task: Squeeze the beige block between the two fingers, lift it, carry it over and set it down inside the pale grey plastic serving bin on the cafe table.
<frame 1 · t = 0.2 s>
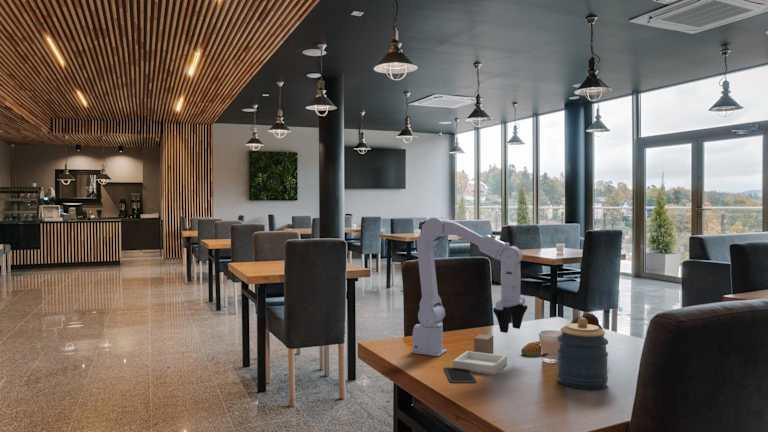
hand: (510, 330, 169), 10 cm above the table, fingers open, 7 cm apart
beige block: (483, 355, 177), on the table
serving bin: (480, 366, 164), on the table
pastry: (534, 354, 179), on the table
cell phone: (459, 377, 155), on the table
ice cream bowl: (585, 361, 170), on the table
canister: (582, 383, 149), on the table
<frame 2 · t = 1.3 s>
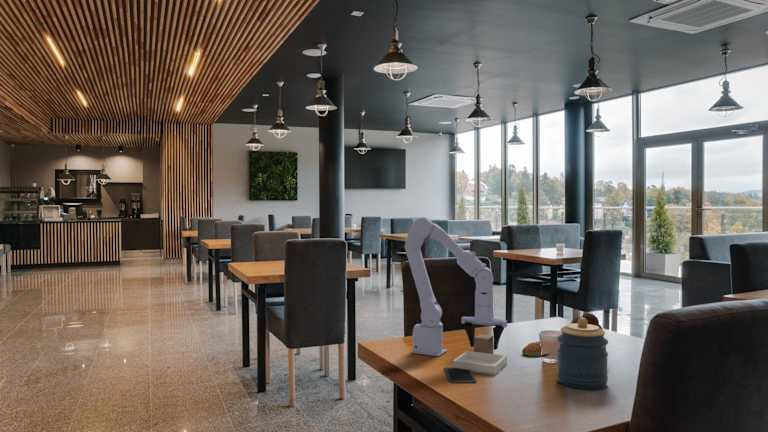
hand: (483, 347, 177), 2 cm above the table, fingers open, 7 cm apart
nothing on the table moved.
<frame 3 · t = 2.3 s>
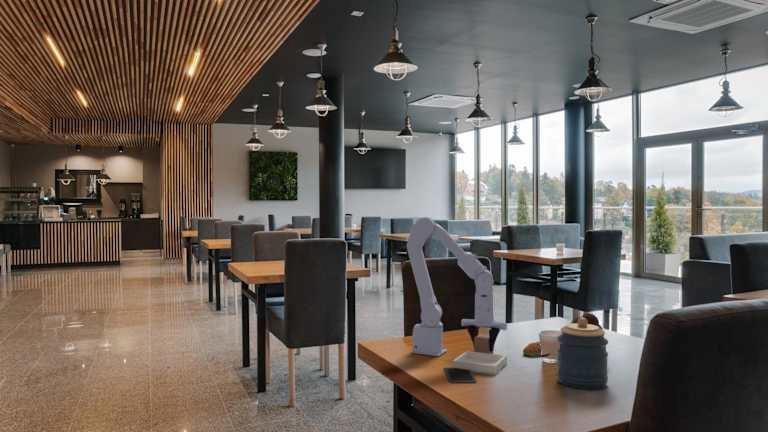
hand: (483, 350, 177), 2 cm above the table, fingers closed on beige block, 4 cm apart
beige block: (483, 355, 177), on the table, touching gripper
everything else where it was.
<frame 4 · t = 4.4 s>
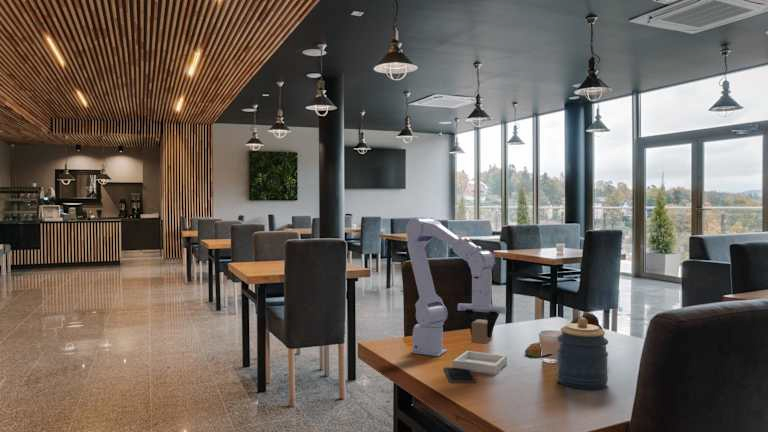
hand: (481, 335, 166), 9 cm above the table, fingers closed on beige block, 4 cm apart
beige block: (481, 341, 166), point 7 cm above the table, touching gripper
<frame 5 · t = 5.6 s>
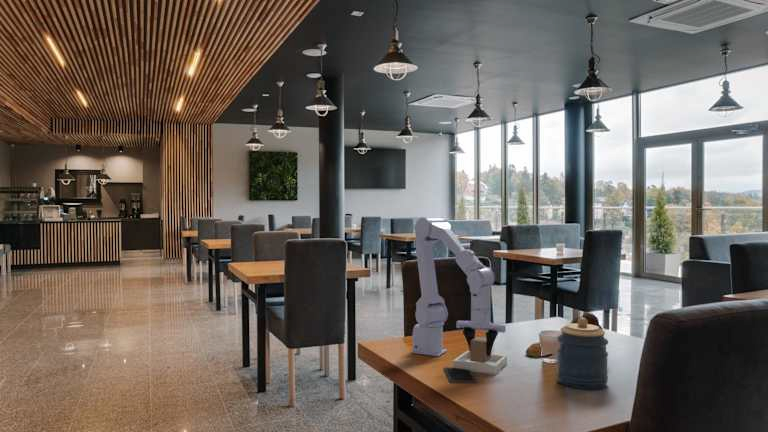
hand: (480, 354, 164), 4 cm above the table, fingers closed on beige block, 4 cm apart
beige block: (480, 359, 164), point 2 cm above the table, touching gripper
when the fingers open (4 cm above the table, at t = 6.4 s): beige block drops 1 cm, resting on serving bin.
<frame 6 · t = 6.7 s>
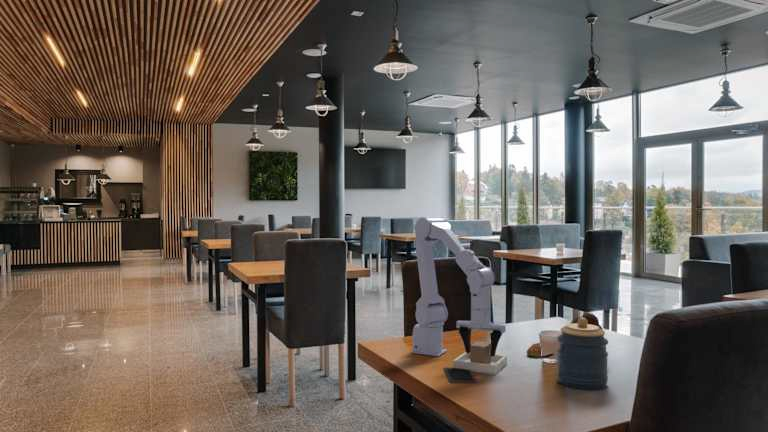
hand: (480, 354, 164), 4 cm above the table, fingers open, 7 cm apart
beige block: (480, 364, 164), point 1 cm above the table, touching serving bin
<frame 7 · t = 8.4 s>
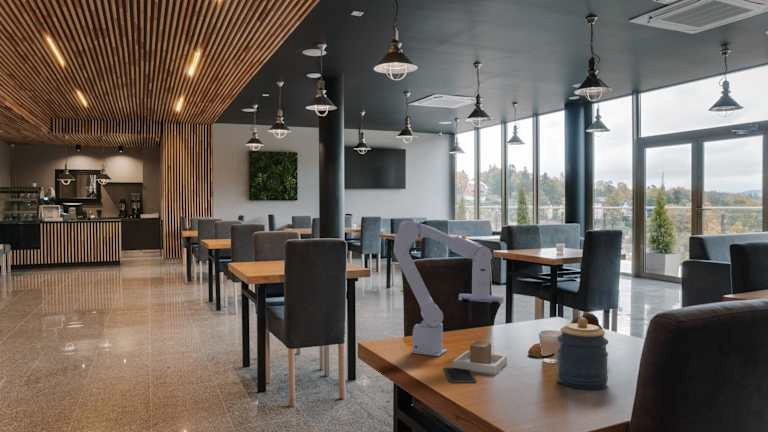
hand: (480, 323, 180), 9 cm above the table, fingers open, 7 cm apart
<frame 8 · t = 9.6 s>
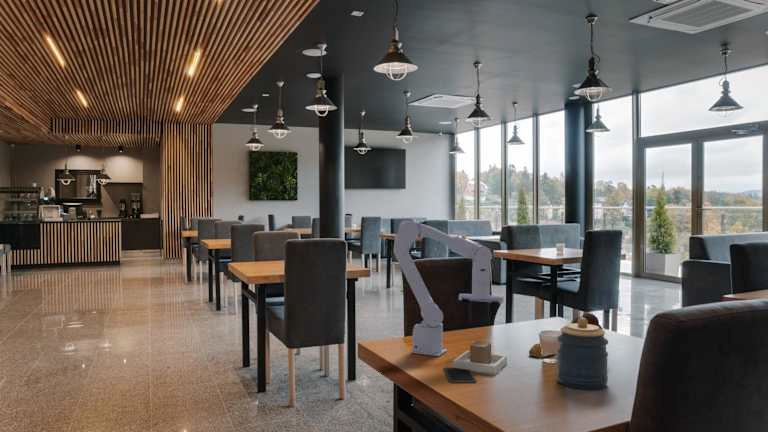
hand: (480, 323, 180), 9 cm above the table, fingers open, 7 cm apart
at the end: beige block inside the target area on the serving bin (0.2 cm from its centre), point 0.6 cm above the serving bin's base; the gripper is holding nothing; beige block tilted 0° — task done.
